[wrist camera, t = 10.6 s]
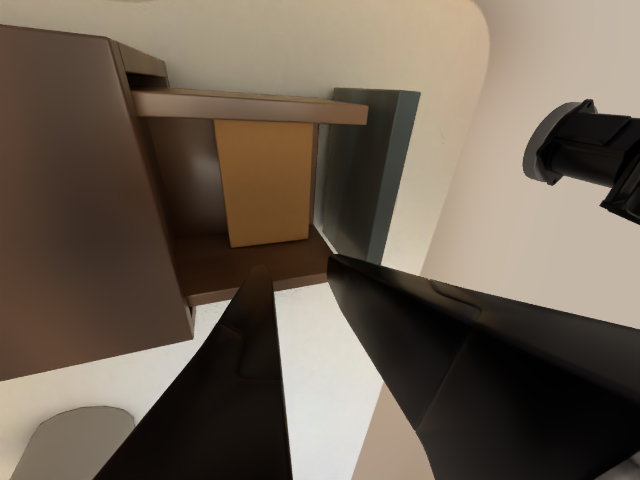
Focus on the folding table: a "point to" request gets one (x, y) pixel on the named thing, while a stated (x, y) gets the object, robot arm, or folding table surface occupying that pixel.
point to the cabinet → (80, 207)
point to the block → (265, 179)
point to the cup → (74, 444)
